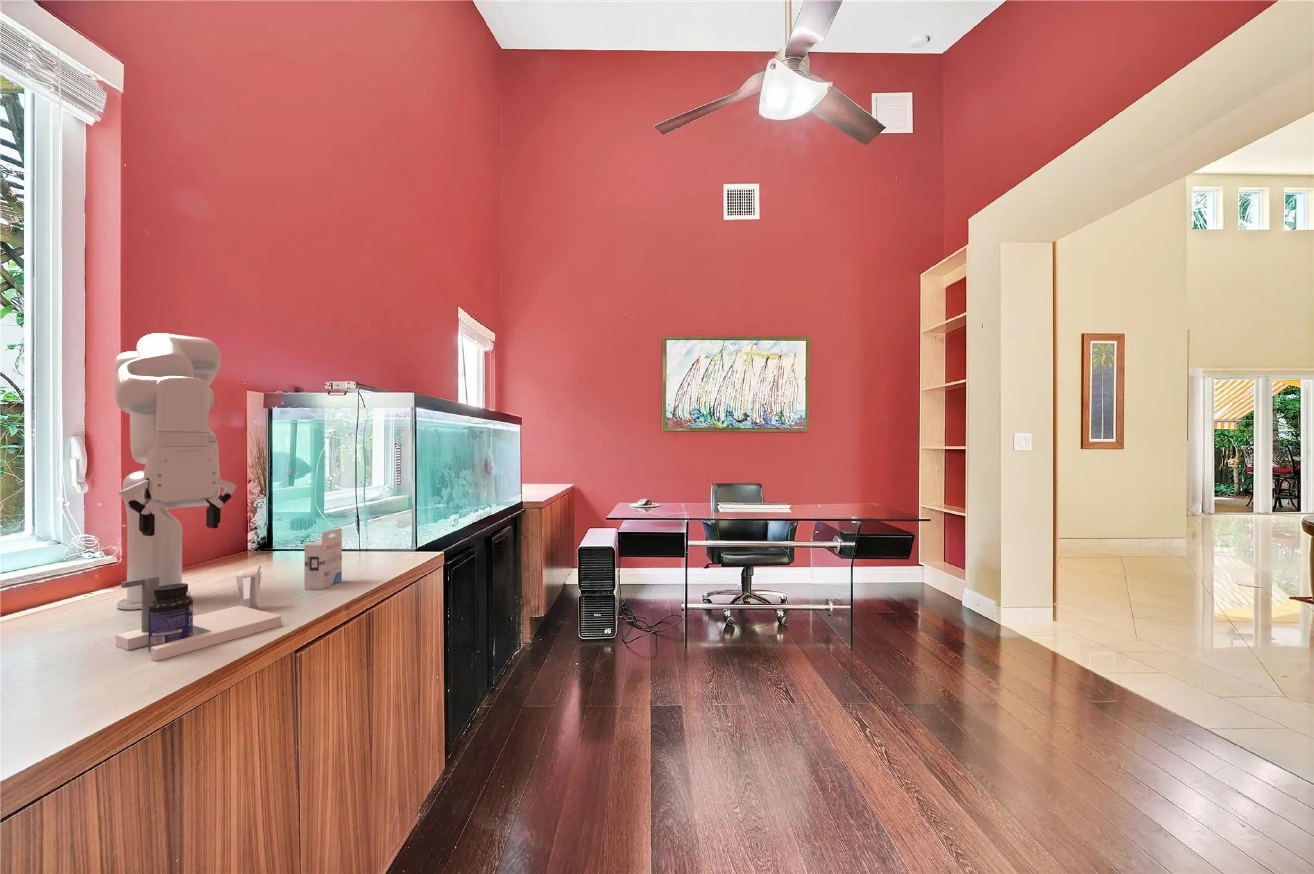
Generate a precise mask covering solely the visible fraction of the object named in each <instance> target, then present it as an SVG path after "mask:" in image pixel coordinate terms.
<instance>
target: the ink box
mask: <svg viewBox="0 0 1314 874" xmlns="http://www.w3.org/2000/svg"><path fill="white" fill-rule="evenodd" d="M342 534H343V533H342V527H339V528H335V529H331V530H328V531H323V532H322V533H321V539H320V540H317V541H312V542H310V543H305V544H304V568H303V569H304V586H303V587H304V590H315V591H316V590H324V589H327V588H329V587H332V586H335V585H336V584H338V583H340V582H342V580H343V579H342V575H343V574H342V573H343V570H342V567H343V565H342V564H343V557H342V555H343V548H342V547H343V539H342ZM331 535H333V536H331Z"/></svg>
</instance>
